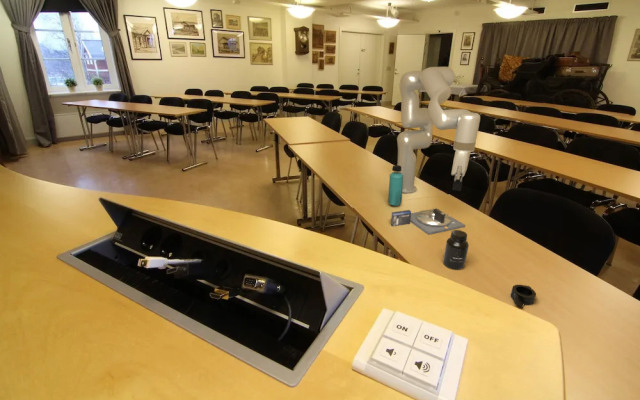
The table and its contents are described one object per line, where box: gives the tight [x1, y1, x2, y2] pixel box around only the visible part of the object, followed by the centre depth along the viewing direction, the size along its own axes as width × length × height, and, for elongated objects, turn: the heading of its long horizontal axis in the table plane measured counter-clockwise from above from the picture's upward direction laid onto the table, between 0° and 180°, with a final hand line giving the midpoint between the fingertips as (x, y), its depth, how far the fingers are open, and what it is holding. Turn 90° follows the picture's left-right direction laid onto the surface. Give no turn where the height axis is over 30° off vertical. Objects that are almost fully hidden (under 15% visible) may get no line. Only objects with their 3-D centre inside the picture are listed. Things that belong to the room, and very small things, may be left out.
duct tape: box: [510, 284, 537, 308], centre depth 92 cm, size 8×10×3 cm
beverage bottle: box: [387, 164, 403, 206], centre depth 150 cm, size 6×7×20 cm
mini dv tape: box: [390, 209, 412, 227], centre depth 135 cm, size 8×2×6 cm, turn 105°
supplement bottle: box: [442, 229, 470, 270], centre depth 106 cm, size 7×7×12 cm
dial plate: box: [410, 207, 466, 236], centre depth 138 cm, size 18×18×1 cm
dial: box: [416, 208, 452, 227], centre depth 136 cm, size 14×14×5 cm
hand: (456, 189), depth 131 cm, fingers closed
